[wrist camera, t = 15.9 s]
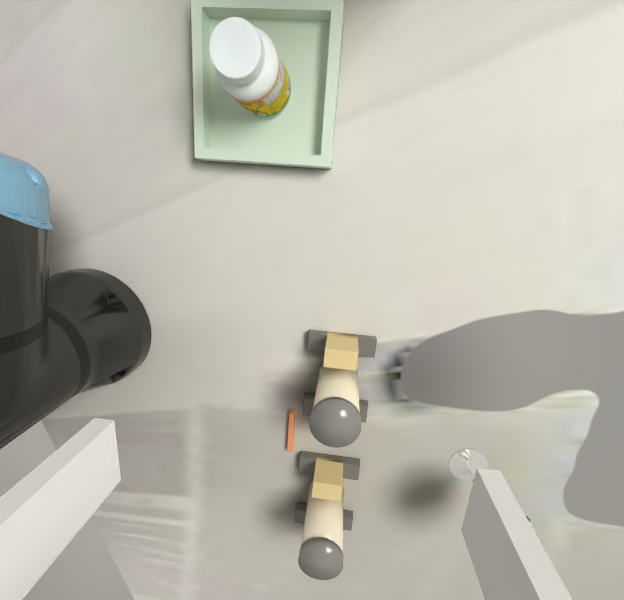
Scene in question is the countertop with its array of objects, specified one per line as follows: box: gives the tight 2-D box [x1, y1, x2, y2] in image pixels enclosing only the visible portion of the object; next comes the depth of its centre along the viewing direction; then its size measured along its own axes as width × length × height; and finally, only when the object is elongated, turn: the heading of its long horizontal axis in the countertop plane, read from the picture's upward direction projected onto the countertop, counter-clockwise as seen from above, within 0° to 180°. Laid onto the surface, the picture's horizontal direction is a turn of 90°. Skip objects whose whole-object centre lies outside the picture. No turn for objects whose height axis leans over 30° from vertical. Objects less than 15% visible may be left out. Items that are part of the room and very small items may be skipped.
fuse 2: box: [298, 478, 344, 580], centre depth 43 cm, size 5×5×10 cm
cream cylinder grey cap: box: [309, 363, 361, 447], centre depth 38 cm, size 5×5×10 cm
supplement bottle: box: [209, 17, 291, 118], centre depth 30 cm, size 5×5×10 cm
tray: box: [191, 0, 344, 169], centre depth 34 cm, size 14×14×2 cm
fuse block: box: [287, 330, 377, 531], centre depth 43 cm, size 10×29×5 cm, turn 176°
